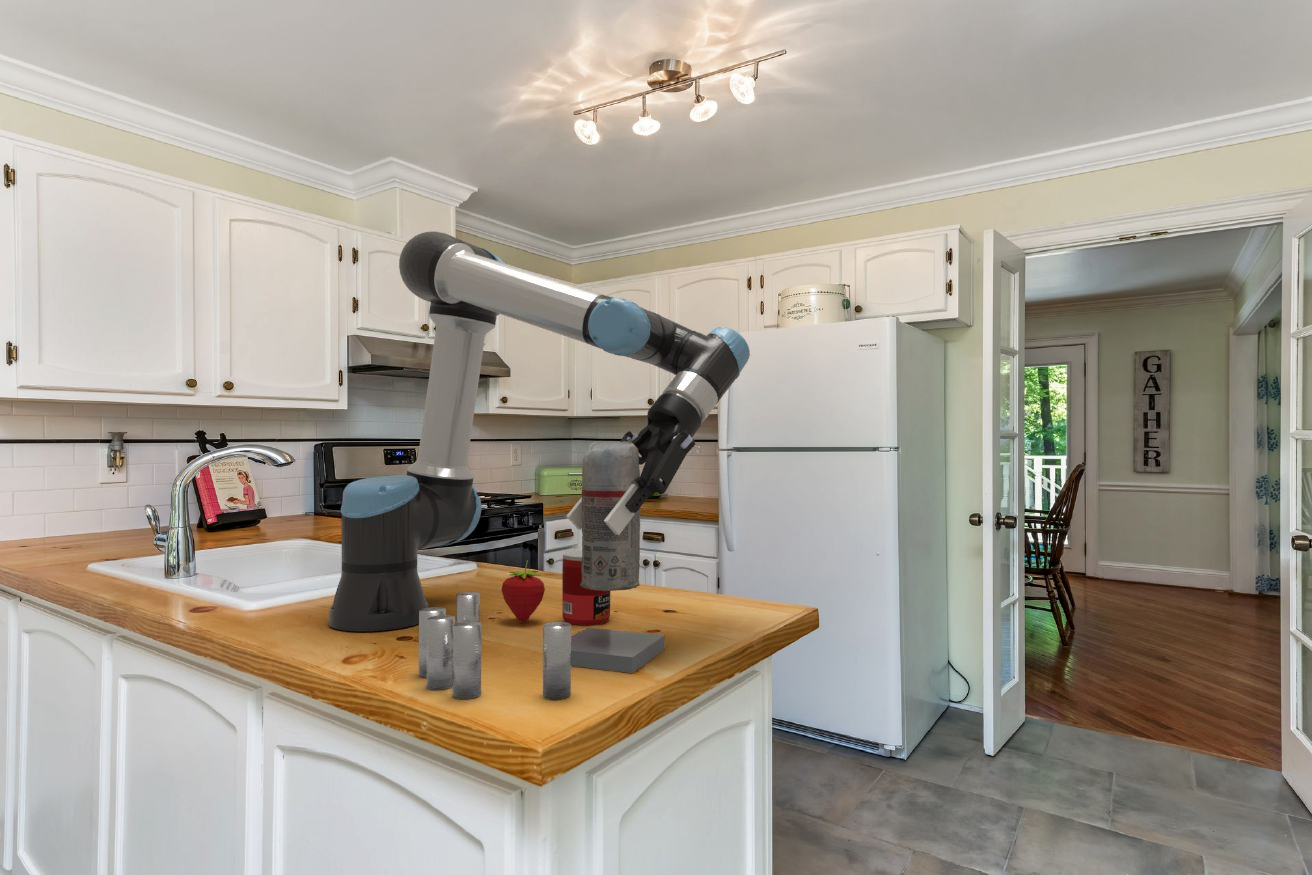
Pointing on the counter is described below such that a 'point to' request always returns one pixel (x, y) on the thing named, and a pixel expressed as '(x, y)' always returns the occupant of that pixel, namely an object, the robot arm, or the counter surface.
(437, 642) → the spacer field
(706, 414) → the robot arm
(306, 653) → the counter surface
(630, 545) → the spray can
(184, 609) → the counter surface
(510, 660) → the counter surface
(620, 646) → the slate board
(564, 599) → the canned food
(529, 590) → the strawberry
